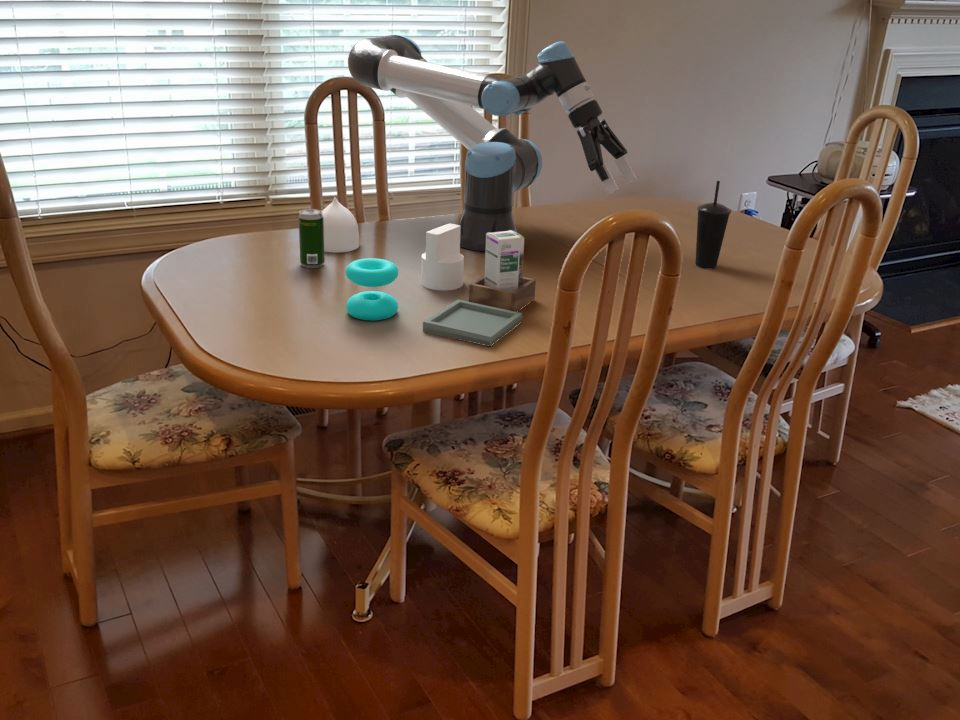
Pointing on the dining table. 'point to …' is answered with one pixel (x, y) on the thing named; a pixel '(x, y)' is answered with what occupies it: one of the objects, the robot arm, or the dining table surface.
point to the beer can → (311, 238)
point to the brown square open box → (502, 295)
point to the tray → (472, 322)
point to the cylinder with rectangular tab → (442, 259)
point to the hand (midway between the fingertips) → (623, 187)
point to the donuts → (372, 302)
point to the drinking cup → (710, 231)
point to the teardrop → (339, 229)
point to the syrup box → (504, 260)
